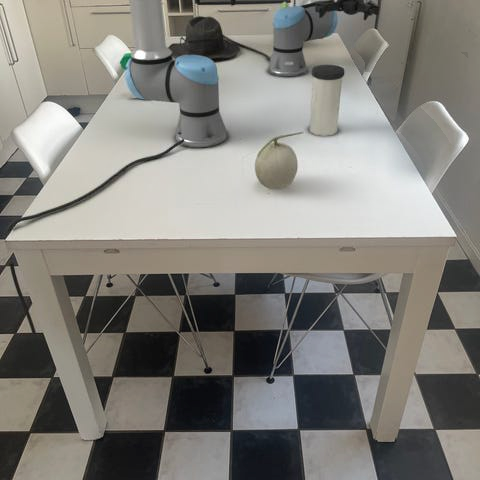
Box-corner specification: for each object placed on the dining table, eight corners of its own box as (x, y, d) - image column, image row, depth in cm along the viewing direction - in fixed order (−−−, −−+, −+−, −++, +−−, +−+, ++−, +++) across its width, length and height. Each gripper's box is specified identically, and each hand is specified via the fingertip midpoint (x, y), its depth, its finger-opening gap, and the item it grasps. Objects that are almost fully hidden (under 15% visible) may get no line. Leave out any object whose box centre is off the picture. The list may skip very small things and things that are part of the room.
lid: (313, 69, 154) (314, 63, 153) (345, 70, 152) (345, 65, 151) (309, 78, 146) (309, 73, 145) (342, 80, 144) (342, 75, 143)
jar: (311, 123, 163) (315, 65, 152) (338, 126, 161) (344, 67, 151) (307, 134, 156) (311, 74, 146) (335, 136, 154) (341, 76, 144)
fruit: (243, 186, 130) (242, 131, 122) (278, 172, 136) (279, 118, 127) (270, 202, 124) (271, 145, 115) (305, 187, 129) (308, 131, 121)
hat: (242, 41, 245) (242, 9, 237) (234, 63, 217) (233, 27, 208) (177, 41, 248) (174, 9, 240) (160, 63, 220) (157, 27, 211)
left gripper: (251, -67, 169) (252, 3, 181) (182, -67, 176) (187, 0, 188) (244, -65, 163) (245, 7, 175) (172, -65, 170) (178, 4, 182)
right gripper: (389, 14, 172) (382, 29, 155) (315, 11, 179) (302, 25, 162) (393, -11, 167) (386, 2, 151) (317, -13, 174) (303, -1, 158)
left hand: (215, 4), depth 181 cm, fingers open, 13 cm apart
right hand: (342, 14), depth 157 cm, fingers open, 13 cm apart
